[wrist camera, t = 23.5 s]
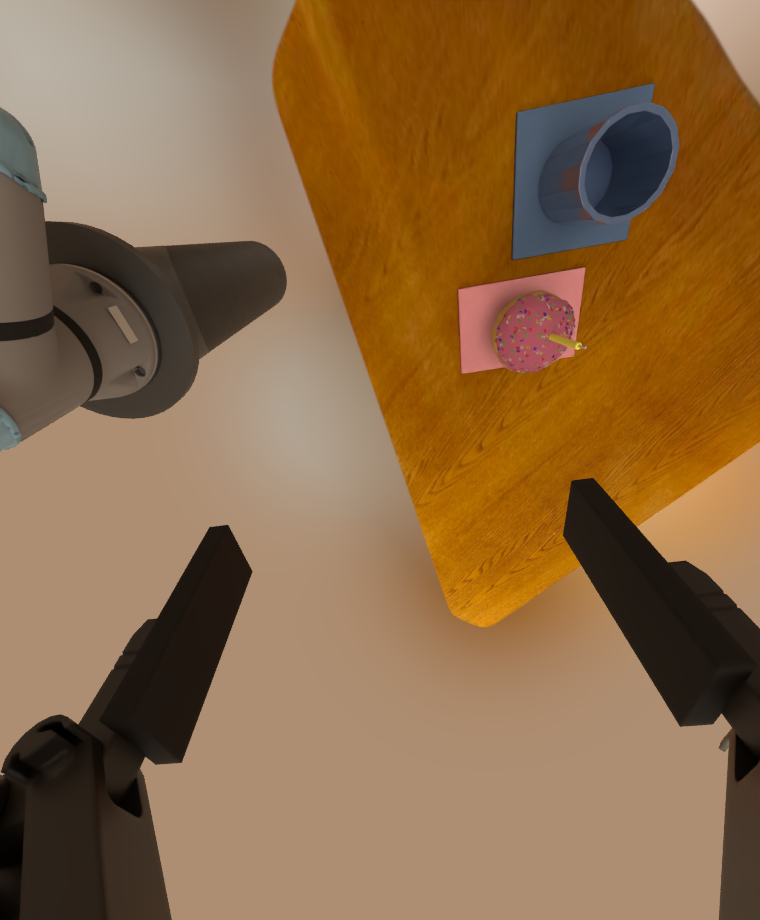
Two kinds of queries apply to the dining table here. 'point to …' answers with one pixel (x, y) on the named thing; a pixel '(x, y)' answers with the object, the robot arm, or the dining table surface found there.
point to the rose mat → (491, 298)
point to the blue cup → (610, 167)
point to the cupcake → (533, 331)
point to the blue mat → (532, 150)
